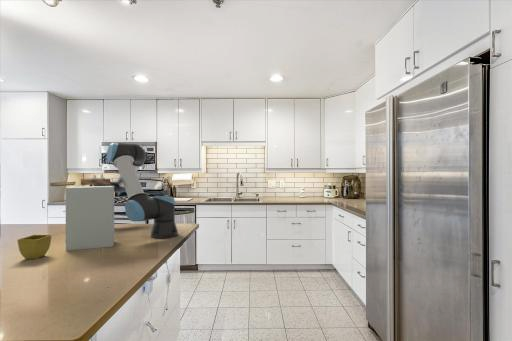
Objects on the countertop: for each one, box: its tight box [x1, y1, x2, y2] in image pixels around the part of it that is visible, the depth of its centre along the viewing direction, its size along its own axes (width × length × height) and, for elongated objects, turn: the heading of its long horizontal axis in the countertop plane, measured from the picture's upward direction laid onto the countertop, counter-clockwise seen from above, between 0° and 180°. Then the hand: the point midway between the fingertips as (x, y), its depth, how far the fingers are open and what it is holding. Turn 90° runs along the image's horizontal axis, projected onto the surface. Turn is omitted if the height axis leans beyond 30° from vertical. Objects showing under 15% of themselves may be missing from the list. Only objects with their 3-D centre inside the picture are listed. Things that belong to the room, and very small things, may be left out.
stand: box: [65, 185, 115, 252], centre depth 143 cm, size 20×10×30 cm, turn 112°
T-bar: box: [80, 177, 111, 186], centre depth 166 cm, size 14×21×3 cm, turn 22°
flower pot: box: [16, 234, 52, 260], centre depth 125 cm, size 9×9×9 cm
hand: (97, 176), depth 165 cm, fingers closed on T-bar, 3 cm apart
